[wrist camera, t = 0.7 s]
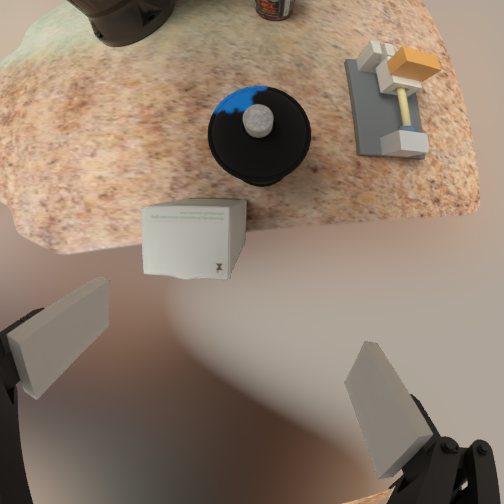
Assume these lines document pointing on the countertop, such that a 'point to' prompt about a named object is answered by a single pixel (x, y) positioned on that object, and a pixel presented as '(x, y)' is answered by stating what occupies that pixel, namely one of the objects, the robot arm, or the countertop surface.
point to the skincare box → (193, 237)
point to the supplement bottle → (274, 8)
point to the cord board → (382, 110)
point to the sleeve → (406, 70)
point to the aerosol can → (259, 135)
